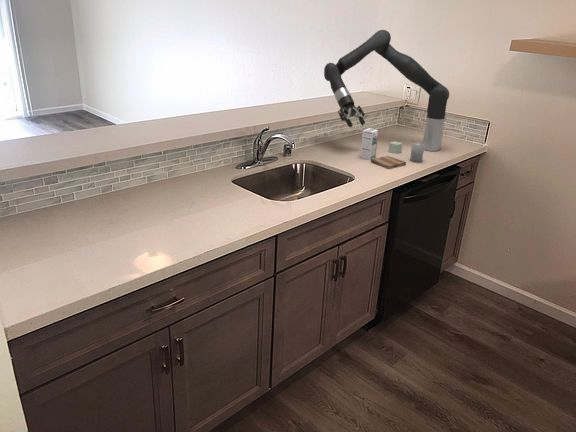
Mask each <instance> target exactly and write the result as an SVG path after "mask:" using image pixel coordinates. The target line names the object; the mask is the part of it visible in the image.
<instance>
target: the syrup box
mask: <svg viewBox="0 0 576 432" xmlns="http://www.w3.org/2000/svg"><path fill="white" fill-rule="evenodd" d="M378 134H379V130H378V129H376V128H370V127H368V128H367V129H363V130H362V136H361V148H360V158H361V159H364V160H368V161H371V159H375V158H377V157H376V155H377V145H378Z"/></svg>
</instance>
